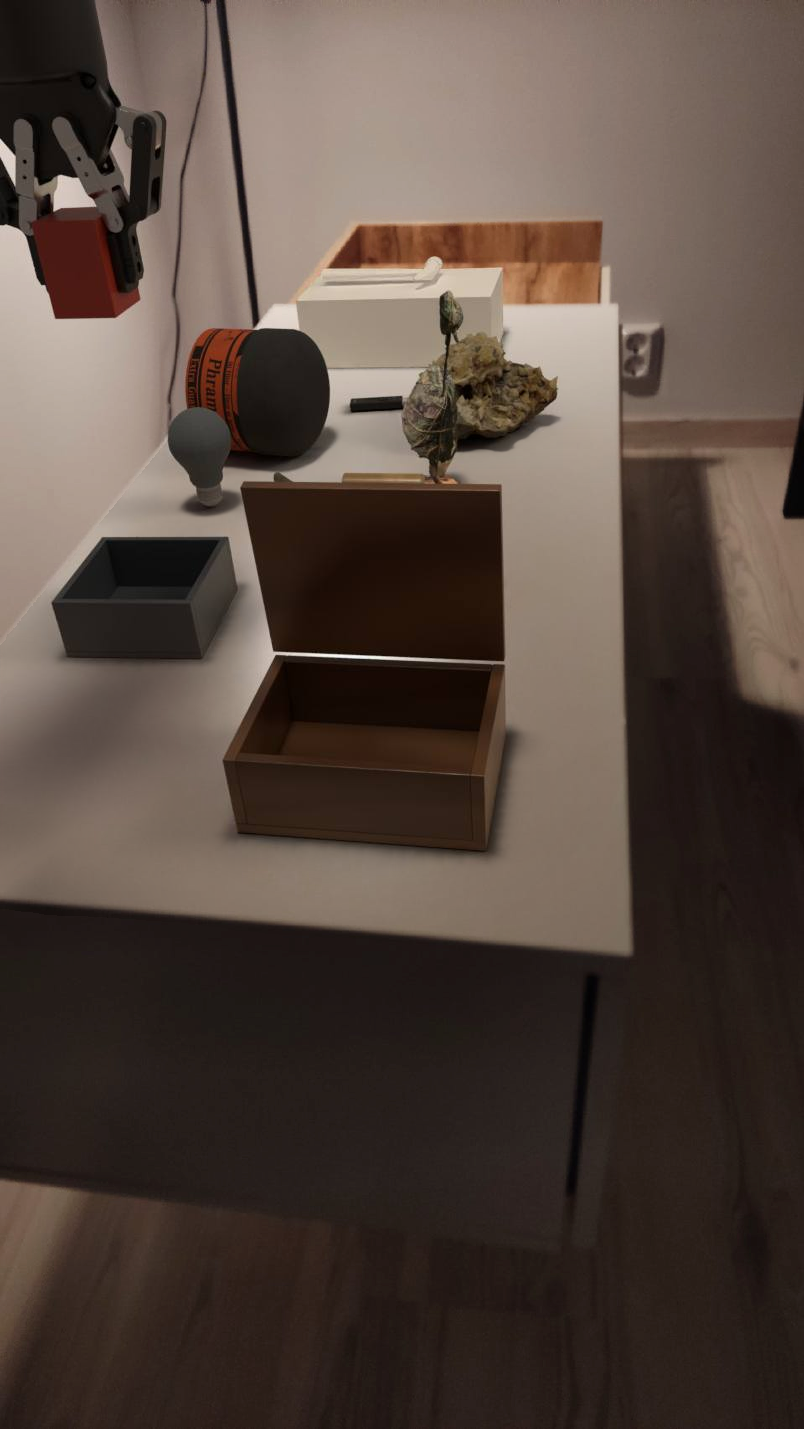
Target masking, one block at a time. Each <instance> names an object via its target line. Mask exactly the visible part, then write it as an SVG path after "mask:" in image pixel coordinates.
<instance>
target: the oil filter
mask: <svg viewBox="0 0 804 1429" xmlns="http://www.w3.org/2000/svg"><path fill="white" fill-rule="evenodd" d="M186 364H187V365H186V371H185V379H184V380H185V383H184V384H185V387H184V388H185V390H184V391H185V403H186V409H189V408H193V407H202V408H207V409H210V410H212V411H214V412H216V413H217V414H218V415H219V416H220V417H222V419H223V420H224V421H225V422H226V424H227V426H228V428H229V431H230V435H231V448H230V451H238V452H251V453H257V454H259V455H265V456H266V455H267V456H280V457H296V456H299V455H302V454H304V453H306V452H307V451H309V450H310V449H311V448H312V447H313V446H314V444H316V442H317V441H318V439H319V438H320V436H321V435H322V433H323V430H324V429H325V428H324V427H325V425H326V422H327V420H328V419H327V418H328V415H329V409H330V402H331V384H330V382H331V381H330V377H329V376H330V375H329V371H328V368H327V366H326V363H325V360H324V358H323V355H322V353H321V351H320V349H319V348H318V346H317V345H316V343H315V342H314V341H313V340H312V338H310V337H309V336H308V335H307V334H305V333H303V332H301V331H299V329H295V328H278V327H277V328H276V327H275V328H273V327H262V328H259V329H252V328H251V329H249V328H248V329H247V328H223V327H221V328H219V327H212V328H211V327H210V328H208V329H205V330H204V331H203V332H202V333H200V335H199V336H198V337H197V338H196V340H195V341H194V344H193V345H192V347H191V350H190V353H189V356H188V360H187V363H186Z"/></svg>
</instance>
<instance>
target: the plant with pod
mask: <svg viewBox="0 0 804 1429" xmlns="http://www.w3.org/2000/svg"><path fill="white" fill-rule="evenodd" d="M439 305H440V310H439V312H440V330H441V333H442V334H443V335H446V336H445V345H446V358H445V364H444V367H440V366H432V367H426V369H425V370H424V371H422V372H423V374H422V375H421V377H418V378H417V380H416V382H415V384H414V386H413V388H412V389H411V392H410V393H409V396H408V398H407V401H406V403H405V405H403V407H402V412H401V425H402V426H401V427H402V431H403V434H404V436H405V439H406V440H407V442H408V445H410V450H412V451H414V452H415V453H417V456H418V458H420V459H422V458H423V459H427V460H428V463H429V465H428V474H429V476H428V477H425V476H424V478H425V483H432V484H461V481H458V480H457V479H454V478H452V477H451V476H449V475H448V474H447V470H448V469H449V467H450V465H451V463H452V462H453V460H454V456H455V454H456V453H457V450H458V440H459V439H458V428H457V417H458V406H457V405H456V402H457V398H456V395H457V392H456V390H455V383H454V378H453V376H452V375H450V374H449V372H448V369H447V362H448V361H447V360H448V356H449V345H450V341H451V333H452V335H453V336H454V340H455V342H457V343H458V342H459V340H458V337H457V332H456V331H457V330H458V329H459V327H460V326H461V324H462V322H463V312H462V309H461V307H460V305H459V303H458V301H457V300H456V298H455V297H454V296H453V293H452V292H451V291H450V290H449V291H446V292H445V293H443V294H442V295H441V296H440V301H439ZM448 363H451V362H448ZM456 408H457V409H456Z"/></svg>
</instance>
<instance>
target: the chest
mask: <svg viewBox="0 0 804 1429" xmlns="http://www.w3.org/2000/svg"><path fill="white" fill-rule="evenodd" d="M506 710H507V708H506V664H502V663H493V664H492V663H474V662H455V661H454V662H452V661H429V660H427V661H426V660H407V659H406V660H405V659H403V660H402V659H386V658H385V659H382V658H361V657H360V658H359V657H338V656H337V657H336V656H335V657H334V656H315V655H314V656H312V655H291V654H290V655H289V654H288V655H287V654H275V655H274V657H273V659H272V661H271V663H270V665H269V667H268V669H267V670H266V673H265V675H264V677H263V679H262V680H261V682H260V685H259V686H258V689H257V691H256V693H255V694H254V697H253V698H252V700H251V703H250V704H249V706H248V708H247V709H246V712H245V714H244V716H243V718H242V720H241V722H240V724H239V726H238V728H237V729H236V732H235V733H234V735H233V738H232V740H231V742H230V744H229V746H228V748H227V750H226V752H225V754H224V756H223V758H222V766H223V770H224V774H225V780H226V784H227V789H228V793H229V799H230V803H231V808H232V812H233V817H234V822H235V826H236V831H237V833H242V834H255V835H256V834H257V835H269V836H270V835H271V836H283V837H295V838H308V839H309V838H311V839H322V840H334V841H336V840H337V841H347V842H348V841H349V842H360V843H361V842H362V843H373V844H374V843H377V844H389V845H399V846H401V845H402V846H415V847H428V848H440V849H441V848H442V849H455V850H467V851H481V852H482V851H483V852H485V851H487V849H488V843H489V837H490V830H491V825H492V819H493V813H494V808H495V803H496V802H495V801H496V796H497V795H496V794H497V789H498V784H499V777H500V772H501V765H502V759H503V755H504V754H503V753H504V749H505V743H506V736H507V733H506V732H507V726H506V725H507V720H506V717H507V716H506V713H507V712H506Z"/></svg>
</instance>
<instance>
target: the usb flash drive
mask: <svg viewBox="0 0 804 1429" xmlns="http://www.w3.org/2000/svg"><path fill="white" fill-rule="evenodd" d="M408 397H409V396H408ZM408 397H407V396H406V397H403V395H390V396H373V397H357V398H354V397H353V398H350V402H349V410H350V411H351V412H356V411H357V412H358V411H374V410H375V411H376V410H389V409H390V410H391V409H403V408H404V405H405V403H406V401H407V398H408Z"/></svg>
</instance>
